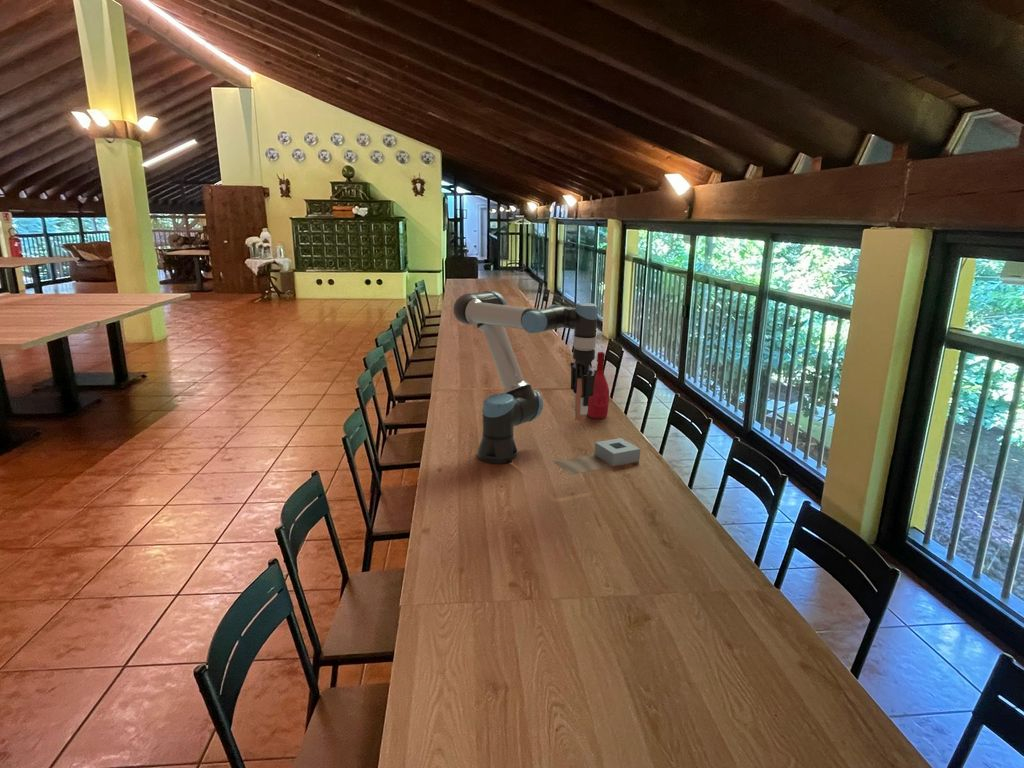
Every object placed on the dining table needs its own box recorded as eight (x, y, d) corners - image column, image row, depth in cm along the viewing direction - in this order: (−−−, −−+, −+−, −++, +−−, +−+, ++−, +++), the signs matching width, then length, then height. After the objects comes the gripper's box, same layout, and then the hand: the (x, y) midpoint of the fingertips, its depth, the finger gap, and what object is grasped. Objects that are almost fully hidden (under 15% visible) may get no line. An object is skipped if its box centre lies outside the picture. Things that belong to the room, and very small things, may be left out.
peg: (578, 421, 218) (580, 380, 214) (573, 417, 221) (575, 377, 217) (587, 419, 220) (589, 379, 216) (581, 416, 223) (584, 376, 219)
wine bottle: (590, 420, 277) (595, 355, 268) (582, 413, 286) (586, 350, 277) (611, 418, 279) (616, 354, 271) (602, 411, 288) (606, 349, 280)
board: (570, 477, 218) (570, 474, 218) (553, 464, 228) (553, 461, 228) (638, 463, 231) (639, 461, 231) (619, 452, 241) (620, 449, 241)
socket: (612, 466, 226) (613, 453, 224) (594, 454, 236) (595, 442, 234) (639, 461, 231) (640, 448, 229) (620, 449, 241) (621, 437, 240)
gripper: (606, 352, 208) (602, 418, 214) (580, 342, 222) (577, 404, 229) (588, 354, 204) (584, 420, 211) (562, 344, 219) (559, 406, 225)
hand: (580, 412), depth 220 cm, fingers closed on peg, 3 cm apart
